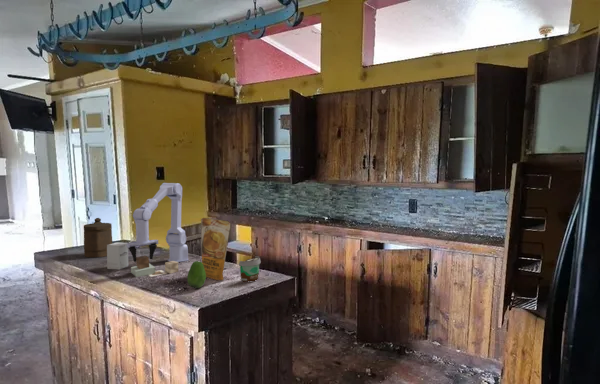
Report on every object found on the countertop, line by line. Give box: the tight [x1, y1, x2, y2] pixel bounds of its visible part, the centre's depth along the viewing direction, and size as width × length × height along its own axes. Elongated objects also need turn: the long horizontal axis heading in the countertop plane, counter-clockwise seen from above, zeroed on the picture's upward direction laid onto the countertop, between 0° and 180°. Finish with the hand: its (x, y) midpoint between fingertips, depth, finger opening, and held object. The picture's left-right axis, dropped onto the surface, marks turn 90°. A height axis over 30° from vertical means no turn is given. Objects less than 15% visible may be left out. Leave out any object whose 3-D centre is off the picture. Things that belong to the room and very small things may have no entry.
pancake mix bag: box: [200, 217, 232, 281], centre depth 177 cm, size 7×19×28 cm, turn 52°
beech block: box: [164, 261, 179, 275], centre depth 185 cm, size 4×4×5 cm
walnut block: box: [135, 255, 150, 269], centre depth 182 cm, size 4×4×5 cm
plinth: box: [130, 262, 156, 278], centre depth 183 cm, size 9×9×3 cm
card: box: [148, 269, 168, 278], centre depth 183 cm, size 8×8×1 cm
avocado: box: [186, 260, 207, 289], centre depth 162 cm, size 8×8×12 cm
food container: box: [238, 255, 262, 283], centre depth 173 cm, size 12×6×10 cm, turn 148°
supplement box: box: [106, 242, 129, 271], centre depth 192 cm, size 7×7×13 cm
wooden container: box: [83, 217, 113, 259], centre depth 219 cm, size 15×15×22 cm
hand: (143, 260), depth 182 cm, fingers open, 7 cm apart
